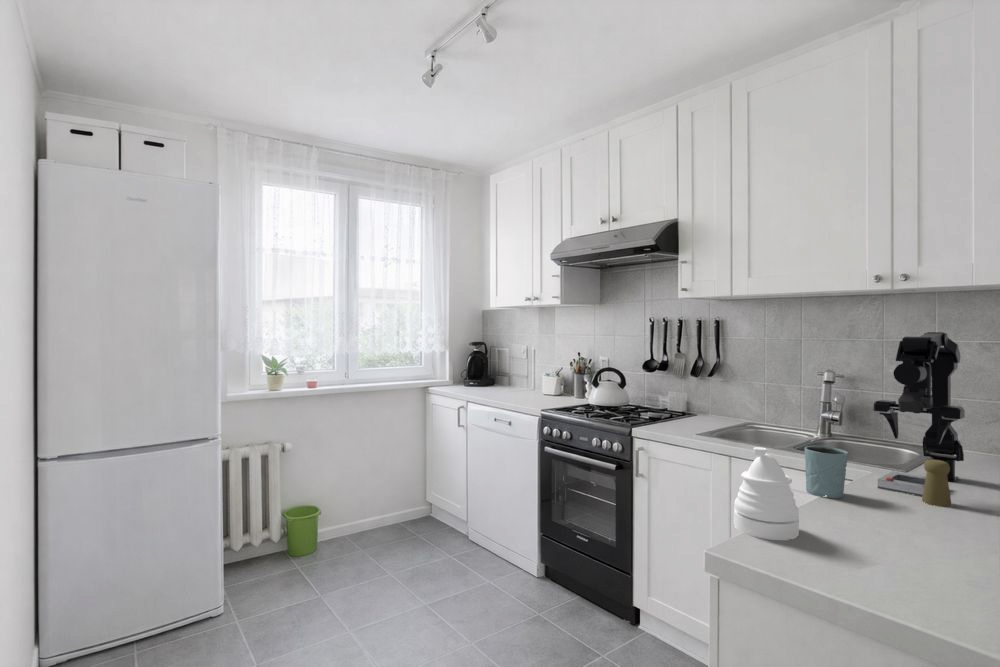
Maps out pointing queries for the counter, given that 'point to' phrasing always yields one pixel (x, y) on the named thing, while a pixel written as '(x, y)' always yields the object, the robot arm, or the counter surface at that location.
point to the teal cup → (825, 471)
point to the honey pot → (766, 501)
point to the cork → (936, 483)
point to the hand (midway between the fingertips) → (917, 441)
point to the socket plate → (902, 483)
